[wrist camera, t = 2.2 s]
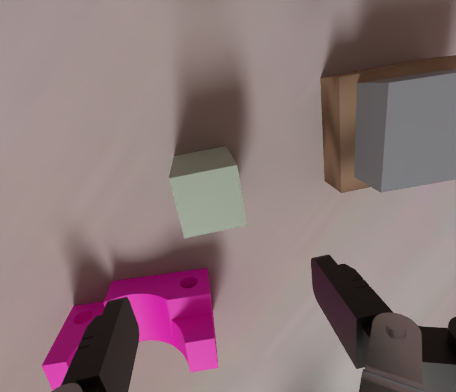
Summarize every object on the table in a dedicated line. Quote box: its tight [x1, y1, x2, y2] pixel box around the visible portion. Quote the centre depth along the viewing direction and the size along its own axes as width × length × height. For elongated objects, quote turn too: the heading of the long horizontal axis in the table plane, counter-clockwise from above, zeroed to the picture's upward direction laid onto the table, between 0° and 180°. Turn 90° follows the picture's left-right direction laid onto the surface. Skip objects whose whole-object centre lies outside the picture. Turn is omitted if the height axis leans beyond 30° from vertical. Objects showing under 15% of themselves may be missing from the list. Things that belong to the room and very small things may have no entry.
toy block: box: [42, 268, 218, 390], centre depth 29 cm, size 15×6×8 cm, turn 95°
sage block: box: [169, 146, 247, 238], centre depth 25 cm, size 5×5×7 cm
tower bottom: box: [320, 55, 456, 193], centre depth 27 cm, size 10×10×4 cm
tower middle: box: [354, 69, 456, 192], centre depth 23 cm, size 8×8×4 cm
